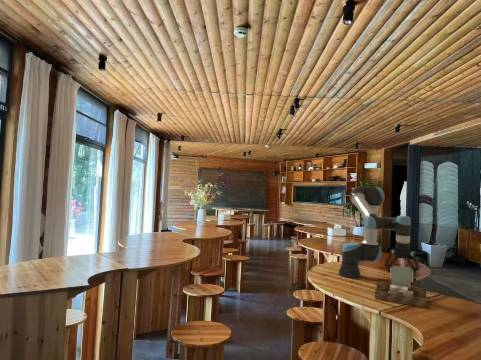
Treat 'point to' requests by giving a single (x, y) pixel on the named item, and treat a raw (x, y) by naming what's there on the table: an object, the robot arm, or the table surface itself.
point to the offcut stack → (400, 290)
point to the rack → (416, 300)
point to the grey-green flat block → (401, 276)
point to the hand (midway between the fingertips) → (401, 280)
